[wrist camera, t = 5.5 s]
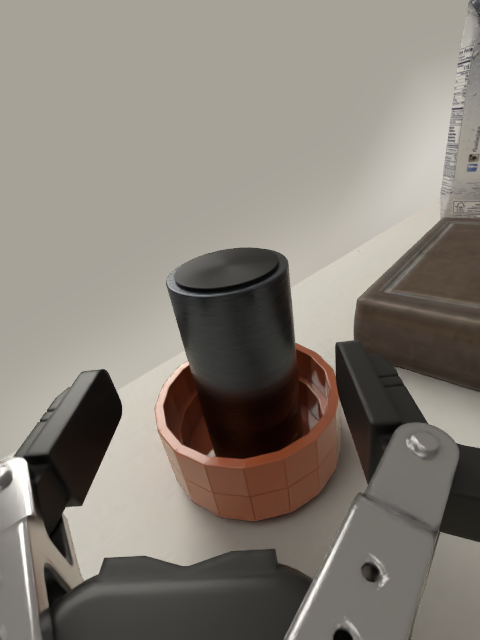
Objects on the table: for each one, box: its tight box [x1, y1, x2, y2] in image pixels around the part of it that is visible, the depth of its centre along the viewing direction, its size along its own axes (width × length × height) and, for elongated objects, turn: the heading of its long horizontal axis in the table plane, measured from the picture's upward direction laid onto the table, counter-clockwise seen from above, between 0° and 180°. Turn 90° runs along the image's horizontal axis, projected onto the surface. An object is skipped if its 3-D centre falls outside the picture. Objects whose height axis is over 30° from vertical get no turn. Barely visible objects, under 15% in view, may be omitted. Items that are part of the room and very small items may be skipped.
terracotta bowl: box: [155, 343, 341, 521], centre depth 20 cm, size 10×10×4 cm
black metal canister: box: [166, 248, 303, 459], centre depth 18 cm, size 6×6×11 cm
